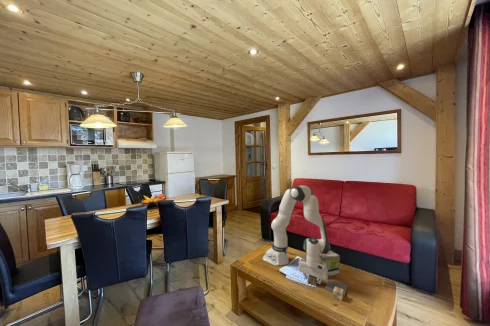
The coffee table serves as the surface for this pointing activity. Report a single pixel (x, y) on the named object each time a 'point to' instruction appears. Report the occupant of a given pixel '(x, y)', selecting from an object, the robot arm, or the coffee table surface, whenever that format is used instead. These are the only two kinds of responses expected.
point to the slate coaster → (333, 284)
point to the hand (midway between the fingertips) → (312, 281)
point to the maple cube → (338, 293)
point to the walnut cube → (312, 280)
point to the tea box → (331, 262)
